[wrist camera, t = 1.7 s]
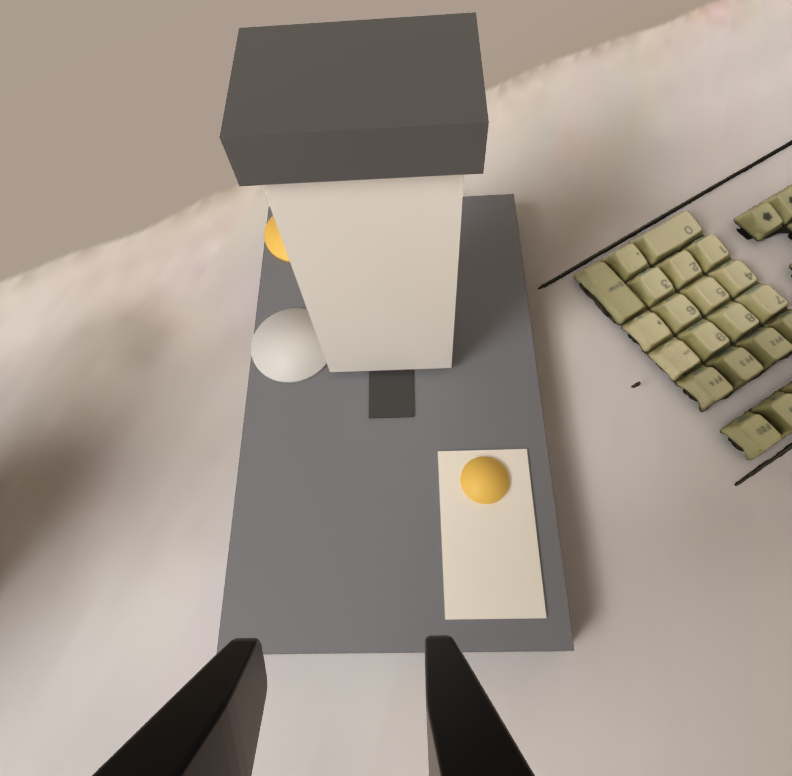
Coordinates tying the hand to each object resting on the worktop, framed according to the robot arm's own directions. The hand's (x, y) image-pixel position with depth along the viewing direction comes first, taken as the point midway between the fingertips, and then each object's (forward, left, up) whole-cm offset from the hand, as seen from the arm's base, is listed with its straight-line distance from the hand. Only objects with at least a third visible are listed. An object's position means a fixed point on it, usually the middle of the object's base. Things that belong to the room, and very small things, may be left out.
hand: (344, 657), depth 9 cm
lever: (+12, -4, -11) cm, 16 cm away
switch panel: (+10, -3, -13) cm, 16 cm away
